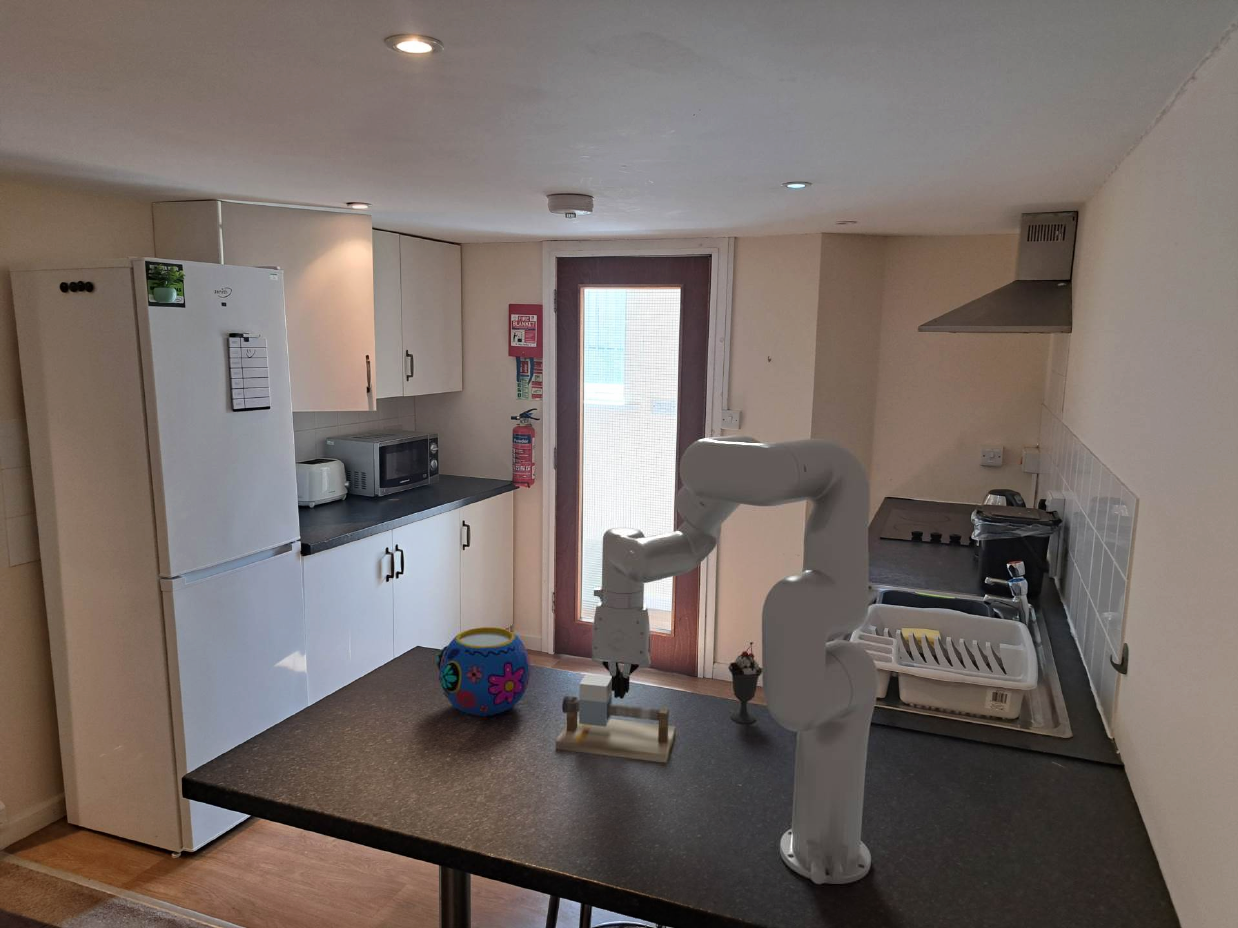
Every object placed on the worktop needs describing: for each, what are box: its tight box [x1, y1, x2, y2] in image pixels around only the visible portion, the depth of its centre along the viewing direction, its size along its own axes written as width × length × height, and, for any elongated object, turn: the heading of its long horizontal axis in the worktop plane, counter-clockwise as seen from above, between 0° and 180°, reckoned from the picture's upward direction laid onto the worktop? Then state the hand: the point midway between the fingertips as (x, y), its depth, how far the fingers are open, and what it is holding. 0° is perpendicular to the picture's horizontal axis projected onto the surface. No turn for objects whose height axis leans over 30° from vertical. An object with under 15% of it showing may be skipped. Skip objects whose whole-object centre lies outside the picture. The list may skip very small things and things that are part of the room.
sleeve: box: [578, 673, 613, 727], centre depth 150 cm, size 5×5×8 cm
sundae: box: [727, 641, 762, 725], centre depth 159 cm, size 7×7×15 cm
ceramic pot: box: [436, 626, 532, 716], centre depth 161 cm, size 18×18×15 cm
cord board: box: [555, 695, 676, 764], centre depth 149 cm, size 11×20×8 cm, turn 78°
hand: (620, 694), depth 148 cm, fingers closed
